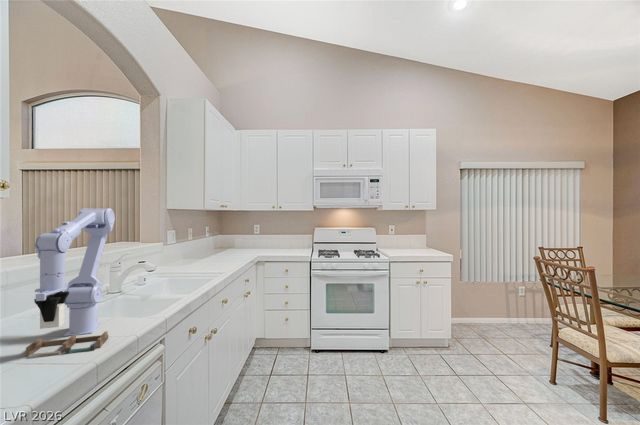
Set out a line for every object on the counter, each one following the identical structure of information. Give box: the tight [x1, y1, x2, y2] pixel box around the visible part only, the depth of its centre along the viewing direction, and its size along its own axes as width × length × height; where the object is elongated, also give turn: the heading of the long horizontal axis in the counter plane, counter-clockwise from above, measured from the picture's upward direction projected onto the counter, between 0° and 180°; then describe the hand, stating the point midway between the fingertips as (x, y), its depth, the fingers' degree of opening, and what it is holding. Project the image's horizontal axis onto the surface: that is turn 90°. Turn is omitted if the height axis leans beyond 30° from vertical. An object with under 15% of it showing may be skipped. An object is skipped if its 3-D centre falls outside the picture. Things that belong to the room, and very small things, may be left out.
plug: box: [39, 303, 65, 330], centre depth 93 cm, size 4×4×7 cm
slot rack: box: [25, 330, 109, 359], centre depth 94 cm, size 9×18×2 cm, turn 109°
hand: (52, 319), depth 93 cm, fingers closed on plug, 3 cm apart
